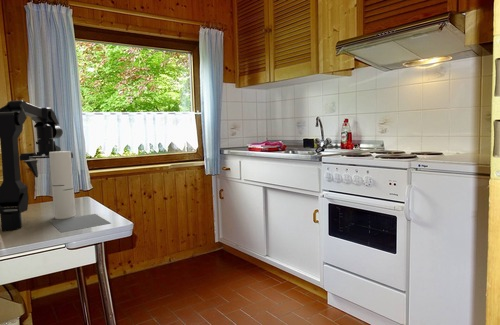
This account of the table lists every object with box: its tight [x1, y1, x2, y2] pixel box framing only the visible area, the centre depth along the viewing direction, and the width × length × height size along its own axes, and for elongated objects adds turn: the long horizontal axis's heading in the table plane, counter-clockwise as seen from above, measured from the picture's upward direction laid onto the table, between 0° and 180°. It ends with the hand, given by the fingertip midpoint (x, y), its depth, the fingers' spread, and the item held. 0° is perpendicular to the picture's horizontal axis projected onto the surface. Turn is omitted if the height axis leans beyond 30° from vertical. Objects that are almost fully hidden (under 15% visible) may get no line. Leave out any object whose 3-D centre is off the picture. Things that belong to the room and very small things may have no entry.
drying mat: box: [49, 213, 112, 233], centre depth 125 cm, size 20×16×1 cm
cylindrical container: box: [49, 150, 77, 220], centre depth 134 cm, size 7×7×25 cm
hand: (48, 176), depth 146 cm, fingers open, 9 cm apart
